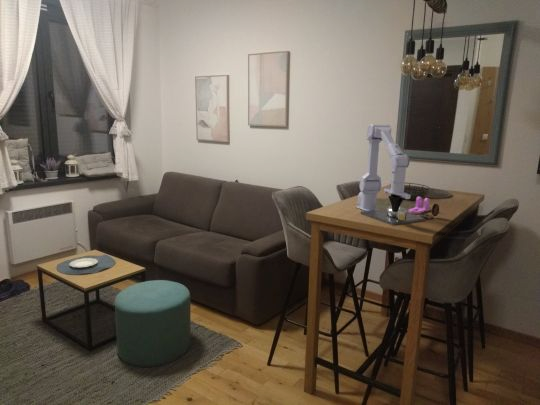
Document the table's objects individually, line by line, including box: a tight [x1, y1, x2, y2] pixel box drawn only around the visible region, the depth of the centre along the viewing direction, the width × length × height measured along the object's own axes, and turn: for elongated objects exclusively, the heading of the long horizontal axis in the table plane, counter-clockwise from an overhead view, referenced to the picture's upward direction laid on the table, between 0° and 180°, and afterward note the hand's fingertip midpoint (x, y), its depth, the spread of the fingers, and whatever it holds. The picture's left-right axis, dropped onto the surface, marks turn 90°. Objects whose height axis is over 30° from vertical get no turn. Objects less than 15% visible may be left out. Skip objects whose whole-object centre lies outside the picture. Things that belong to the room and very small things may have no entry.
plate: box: [360, 208, 426, 226], centre depth 197 cm, size 22×20×1 cm
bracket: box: [408, 196, 431, 215], centre depth 210 cm, size 13×6×7 cm, turn 135°
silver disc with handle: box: [386, 205, 408, 220], centre depth 193 cm, size 15×9×4 cm, turn 176°
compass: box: [419, 203, 440, 220], centre depth 197 cm, size 8×8×7 cm
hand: (395, 211), depth 186 cm, fingers closed
